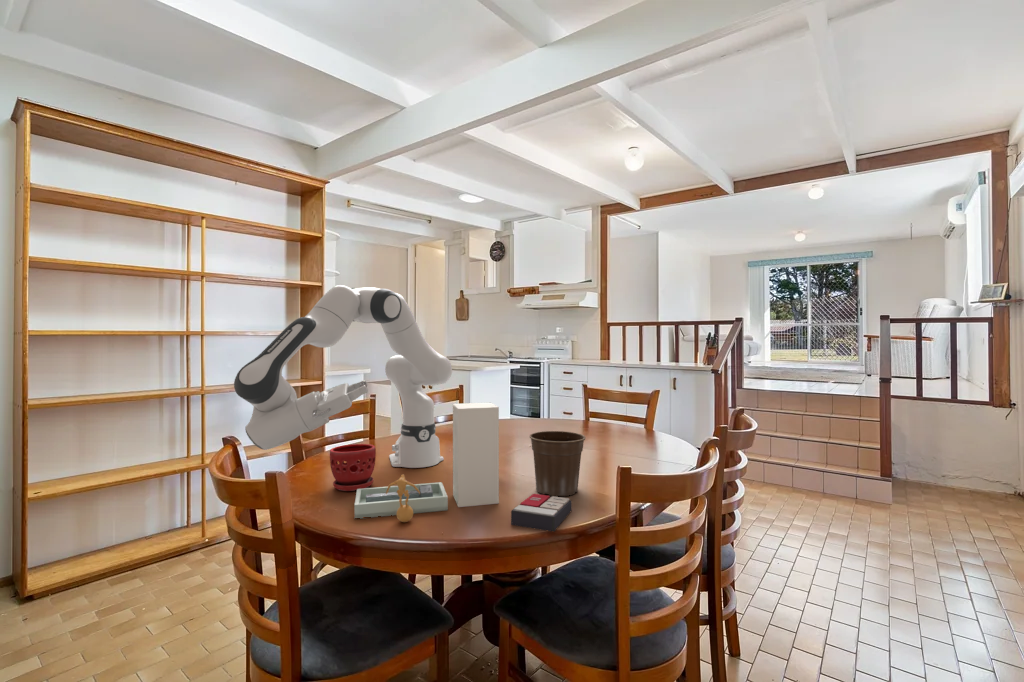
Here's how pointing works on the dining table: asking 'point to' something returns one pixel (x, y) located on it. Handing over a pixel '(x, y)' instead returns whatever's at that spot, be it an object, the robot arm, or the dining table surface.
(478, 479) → the post
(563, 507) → the dark grey box
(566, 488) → the plant pot
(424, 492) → the stop bar
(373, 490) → the tray
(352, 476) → the plant pot
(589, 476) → the dining table surface
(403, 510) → the figurine
